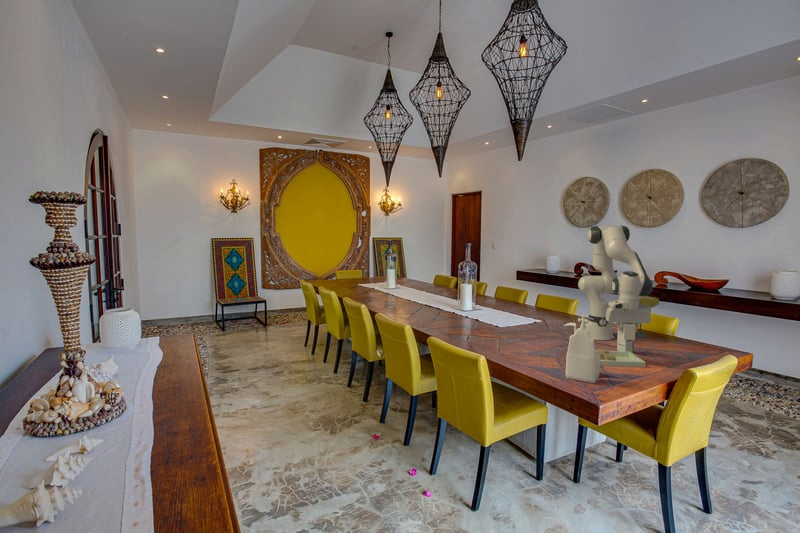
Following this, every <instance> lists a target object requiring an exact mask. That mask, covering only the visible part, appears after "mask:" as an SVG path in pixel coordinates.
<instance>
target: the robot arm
mask: <svg viewBox="0 0 800 533" xmlns="http://www.w3.org/2000/svg"><path fill="white" fill-rule="evenodd" d="M630 237H631V233H630V228H629V227H627V226H625V225H616V224H615V225H611V224H610V225H609V224H608V225H595V226H591V227H590V228H589V229H588V232H587V239H588V241H589V243H591V244H593V249H592V261H591V262H592V263H591V264H592V267H593V268H594V269H596V270H597V271H600V272H601V275H586V276H582V277H580V278H579V280H578V283H577V284H578V285H577V287H578V289H579V291H580V292H581V293H583V294H584V295H585V296H586V297H587V300H588V302H589V314H588V317H587V319H588V323H586V322H585V323H584V324H585V329H587V330H588V331H589V334H590V336H591V338H593V339H594V341H610V340H612V339H615V336H614V335H613V323H615V324H616V326H617V331H618V330H619V332H623V328H621V327H620V325H621V323H634V324H636V325H635V333H638V332H637V331H638V328H640V323H641V324H651V322H652V315H651V312H652V308H651V307H650V306H648V305H639V296H643V297H645V296H647V295H649V296H650V294H651V293H652V292H653V289H654V288H653V282H652V280H651V278H650V277H649V275H648V274H647V272H646V268H645V267H644V265H643V263H642V261H641V258H640V256H639V254H638V253H637V251H634V250H633V249H631V247H630V246H629V245H628V241H629V240H630ZM614 261H617V262H620V263H624V264H626V265H628V266H630V267H631V269H632V271H630V270H629V271H628V270H627V271H622V272H621V273H620V275H618V274H617V273H616V272H615V269H614ZM601 294H604V295H605V294H607V295H609V294H611V295H614V294H615V295H619V296H618V299H616V300H613V301H610V302H609V301H607V300H605V299H604V298H602V297H601ZM618 327H619V329H618Z"/></svg>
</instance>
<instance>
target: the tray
mask: <svg viewBox="0 0 800 533" xmlns="http://www.w3.org/2000/svg"><path fill="white" fill-rule="evenodd" d="M608 351H609V354H613V355H614V356H615V357H616V361H613V360H600V366H599V367H603V366H604V367H622V368H623V367H626V368H627V367H628V368H629V367H630V368H647V362H646V361H644V359H641V357H639V356H637V355H636V354H635V353H634V352H633V353H632V352H627V351H618V350H608Z"/></svg>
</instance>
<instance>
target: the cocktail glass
mask: <svg viewBox="0 0 800 533" xmlns="http://www.w3.org/2000/svg"><path fill="white" fill-rule="evenodd" d="M659 303H660V298H659V297H658V296H654V295H650V294H649V295H647V296H645V297H643V296H639V305H648V306H650V307H651V309H652V308H655V307H656V306H658V305H659ZM648 337H649V338H650V337H651V335H649V334H646V333H642V323H640V324H639V330H638V332H635V338H641V339H647V338H648Z"/></svg>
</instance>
